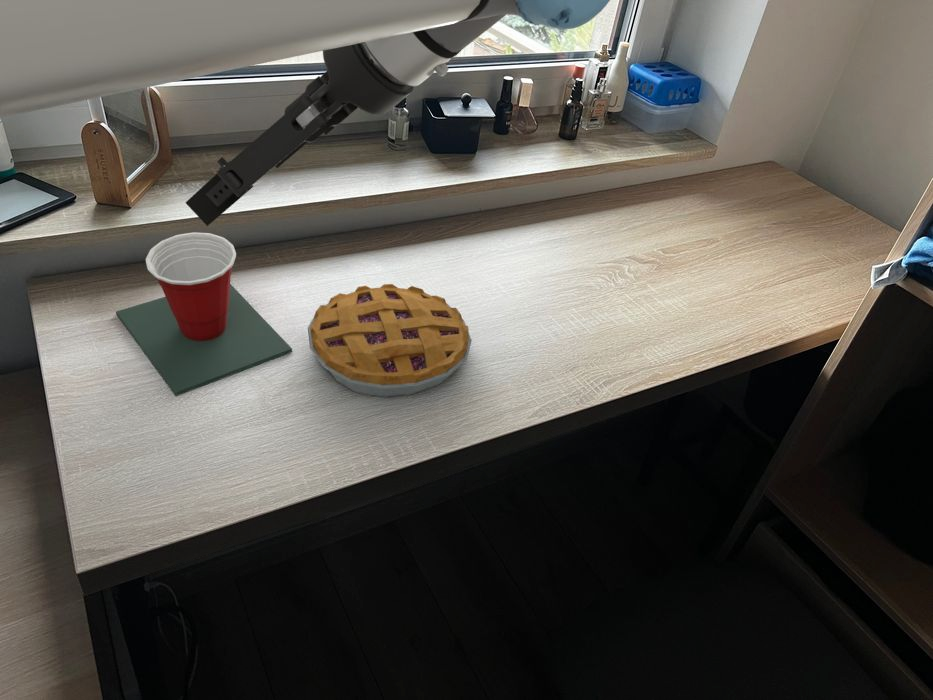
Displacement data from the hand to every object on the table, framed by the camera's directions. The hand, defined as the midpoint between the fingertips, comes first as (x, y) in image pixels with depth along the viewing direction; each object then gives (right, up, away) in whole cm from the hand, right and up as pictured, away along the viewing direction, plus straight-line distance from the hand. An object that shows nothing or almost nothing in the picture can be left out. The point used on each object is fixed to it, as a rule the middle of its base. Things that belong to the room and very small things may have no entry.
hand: (236, 182), depth 70 cm
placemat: (-14, -14, +28) cm, 34 cm away
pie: (+12, -17, +29) cm, 36 cm away
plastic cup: (-13, -14, +28) cm, 34 cm away
